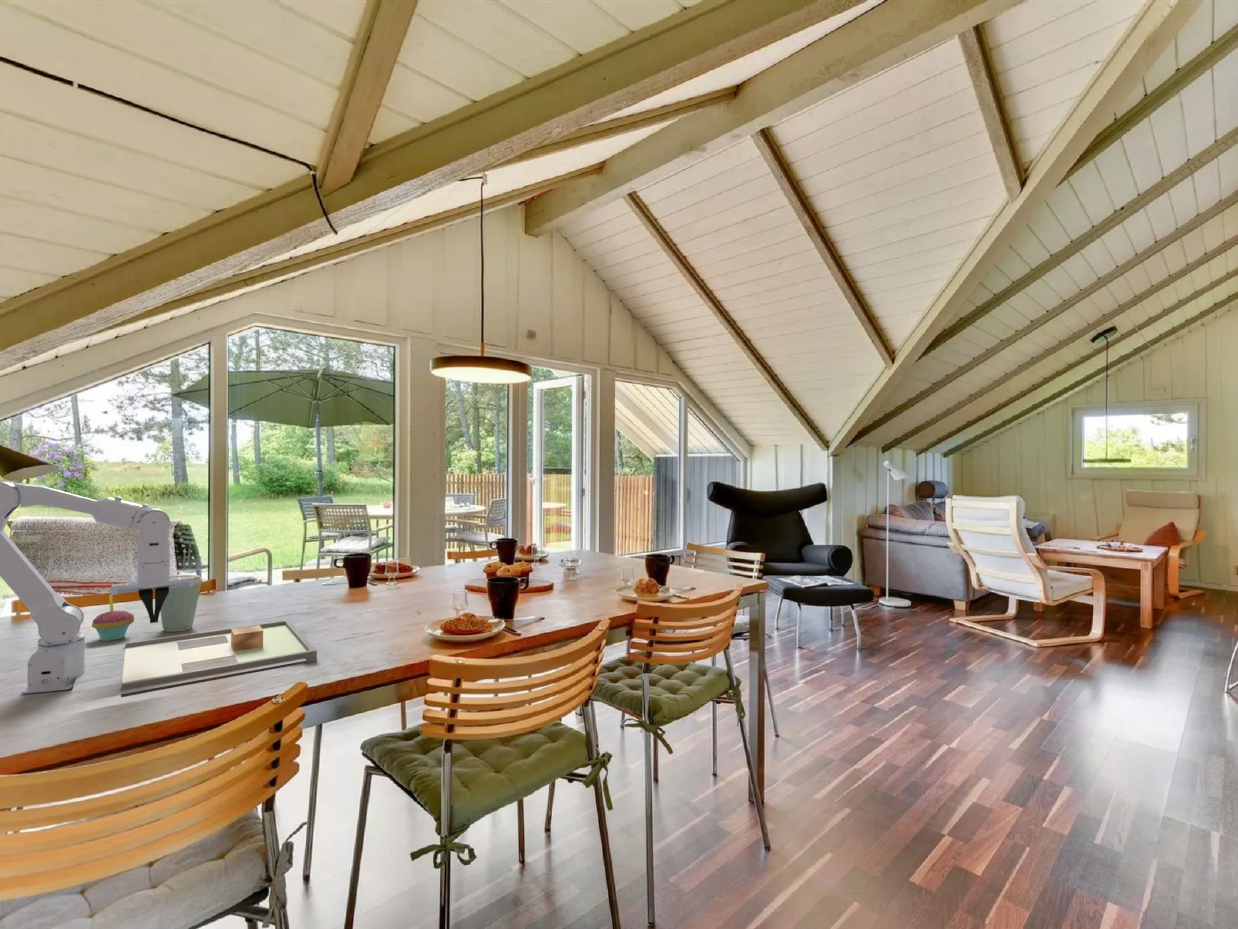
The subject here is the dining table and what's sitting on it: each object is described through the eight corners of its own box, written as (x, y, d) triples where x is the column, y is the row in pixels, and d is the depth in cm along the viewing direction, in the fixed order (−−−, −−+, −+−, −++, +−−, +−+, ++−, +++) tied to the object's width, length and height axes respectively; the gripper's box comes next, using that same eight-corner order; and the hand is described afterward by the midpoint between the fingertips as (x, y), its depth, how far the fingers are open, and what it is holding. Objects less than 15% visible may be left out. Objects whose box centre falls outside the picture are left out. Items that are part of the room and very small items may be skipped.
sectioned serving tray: (121, 697, 117) (121, 684, 117) (125, 652, 143) (125, 642, 143) (316, 661, 139) (316, 650, 139) (288, 628, 165) (288, 619, 165)
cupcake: (85, 639, 153) (86, 593, 153) (124, 631, 161) (125, 587, 161) (101, 644, 149) (101, 597, 149) (140, 636, 157) (141, 591, 157)
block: (234, 651, 140) (234, 634, 140) (231, 645, 145) (231, 629, 145) (263, 646, 144) (263, 630, 144) (259, 641, 149) (259, 625, 149)
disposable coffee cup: (163, 625, 167) (163, 572, 167) (207, 622, 171) (208, 570, 171) (148, 635, 157) (148, 579, 157) (196, 632, 161) (196, 577, 161)
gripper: (192, 556, 141) (192, 613, 141) (112, 562, 132) (112, 623, 132) (194, 560, 135) (194, 619, 135) (110, 567, 126) (111, 630, 126)
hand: (154, 621), depth 133 cm, fingers closed
